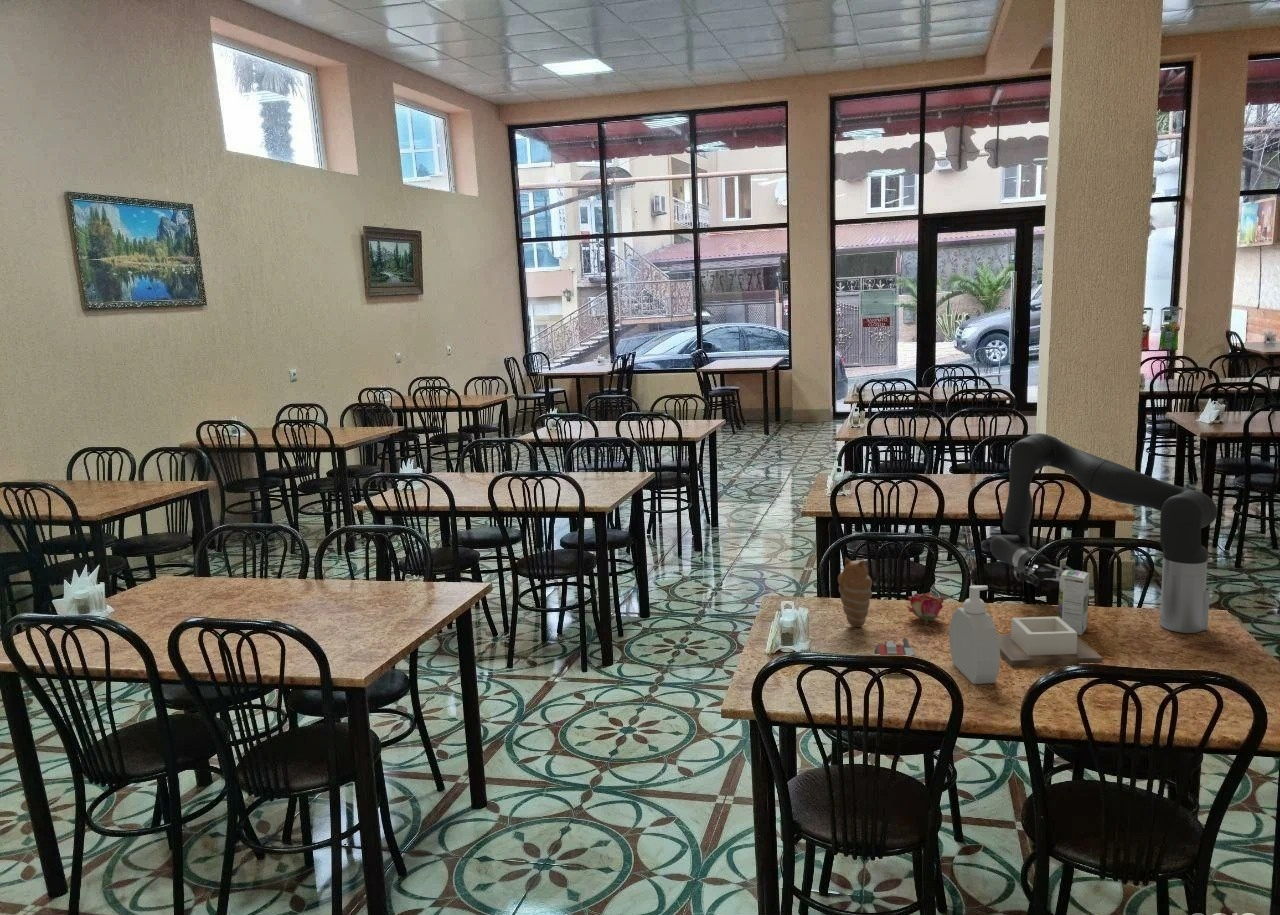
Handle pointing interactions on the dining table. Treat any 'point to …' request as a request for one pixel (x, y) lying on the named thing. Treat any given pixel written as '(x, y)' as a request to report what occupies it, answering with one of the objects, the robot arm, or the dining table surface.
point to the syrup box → (1074, 599)
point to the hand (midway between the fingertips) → (1054, 582)
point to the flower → (925, 606)
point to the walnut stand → (1020, 658)
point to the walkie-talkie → (894, 649)
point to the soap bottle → (975, 640)
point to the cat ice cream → (855, 591)
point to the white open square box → (1043, 636)
